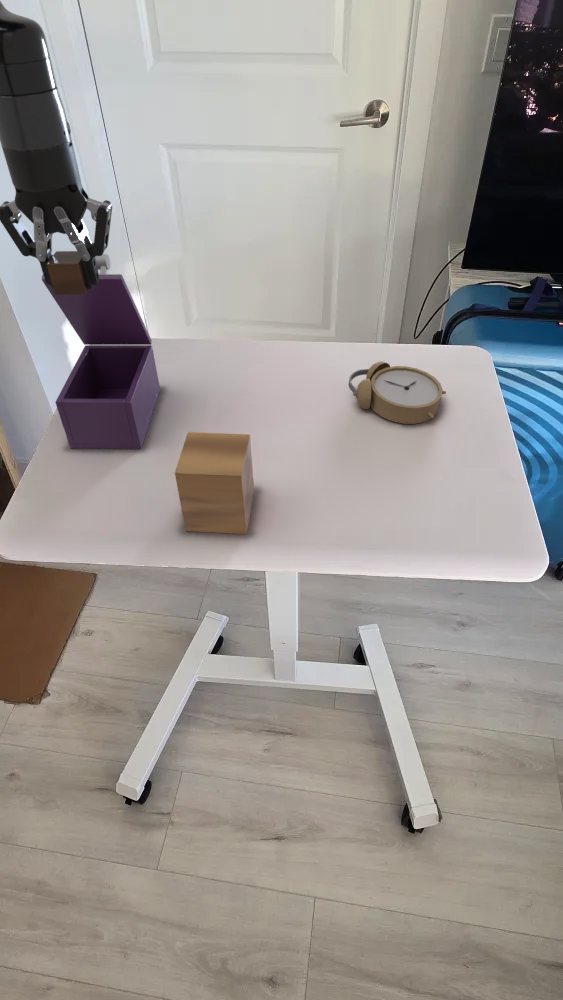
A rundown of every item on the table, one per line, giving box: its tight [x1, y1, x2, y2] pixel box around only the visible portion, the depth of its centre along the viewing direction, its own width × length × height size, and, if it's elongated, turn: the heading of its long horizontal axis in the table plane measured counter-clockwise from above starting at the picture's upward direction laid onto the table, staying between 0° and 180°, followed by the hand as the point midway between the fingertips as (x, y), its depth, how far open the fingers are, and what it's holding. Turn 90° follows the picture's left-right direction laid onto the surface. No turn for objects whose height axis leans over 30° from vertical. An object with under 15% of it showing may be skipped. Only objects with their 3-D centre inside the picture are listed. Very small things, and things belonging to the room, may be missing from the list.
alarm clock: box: [348, 361, 447, 425], centre depth 99 cm, size 11×5×15 cm
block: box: [47, 250, 89, 295], centre depth 80 cm, size 4×4×4 cm
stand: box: [174, 431, 255, 535], centre depth 80 cm, size 8×8×10 cm
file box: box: [54, 344, 161, 450], centre depth 96 cm, size 16×11×8 cm
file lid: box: [41, 253, 152, 346], centre depth 92 cm, size 17×11×5 cm
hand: (74, 286), depth 81 cm, fingers closed on block, 4 cm apart
